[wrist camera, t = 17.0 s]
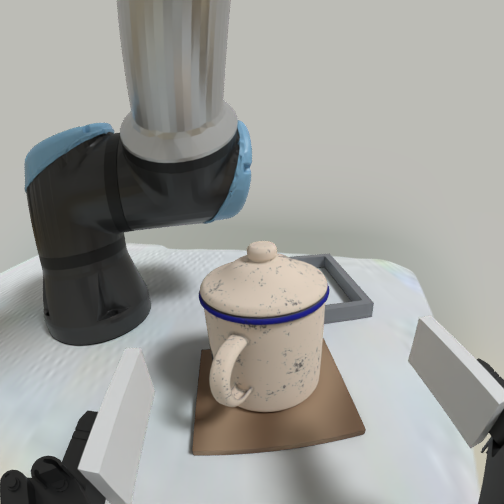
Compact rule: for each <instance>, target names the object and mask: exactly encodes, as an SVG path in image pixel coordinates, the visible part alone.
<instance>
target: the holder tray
mask: <svg viewBox="0 0 504 504" xmlns="http://www.w3.org/2000/svg"><path fill="white" fill-rule="evenodd" d="M289 258H291V259H295V260H300V261H303V262H306V263H308V264H311V265H313V266H314V267H316V268H318V267H325V268H326V269H327V270H328V271H329V273H330V274H331V275H332V276H333V278H334V279H335V280H336V282H337V283H338V284H339V285H340V287H341V288H342V289H343V291H344V292H345V293H346V295H347V296H348V297H349V298H350V300H351V301H352V302H345V303H337V304H329V305H325V313H324V324H325V323H333V322H340V321H347V320H353V319H360V318H366V317H372V311H373V304H374V303H373V302H372V301H371V299H370V298H369V297H368V296H367V295H366V294H365V293H364V291H363V290H362V289H361V288H360V287H359V286H358V285H357V284H356V282H355V281H354V280H353V279H352V278H351V277H350V276H349V275H348V274H347V272H346V271H345V270H344V269H343V268H342V267H341V266H340V265H339V264H338V263H337V262H336V260H335V259H334V258H333V257H332V256H331V255H330V254H320V255H308V256H295V257H289Z"/></svg>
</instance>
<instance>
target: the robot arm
mask: <svg viewBox="0 0 504 504" xmlns="http://www.w3.org/2000/svg"><path fill="white" fill-rule="evenodd" d="M117 7H118V8H117V9H118V19H119V30H120V39H121V47H122V54H123V62H124V69H125V76H126V82H127V89H128V95H129V101H130V106H131V112H130V113H129V114H128V115H127V116H126V117H125V119H124V120H123V123H122V125H121V128H120V133H115V134H114V130H113V129H112V127H111V125H110V124H108V123H94V124H89V125H86V126H83V127H76V128H72V129H69V130H67V131H64V132H61V133H58V134H56V135H53V136H51V137H49V138H47V139H45V140H43V141H42V142H40V143H38V144H37V145H35V146H34V147H33V148H32V149H31V150H30V152H29V153H28V154H27V156H26V159H25V192H26V193H27V200H28V206H29V212H30V217H31V223H32V227H33V232H34V237H35V241H36V246H37V250H38V254H39V258H40V262H41V266H42V270H43V302H44V317H45V321H46V323H47V326H48V329H49V331H50V333H51V335H52V336H53V337H54V338H55V339H57V340H58V341H61V342H63V343H67V344H74V345H86V344H94V343H99V342H104V341H107V340H110V339H113V338H116V337H118V336H120V335H123V334H125V333H126V332H128V331H130V330H132V329H133V328H135V327H136V326H137V325H139V324H140V323H141V322H142V321H143V320H144V319H145V318H146V317H147V315H148V314H149V312H150V309H151V301H150V297H149V292H148V288H147V286H146V284H145V282H144V280H143V279H142V277H141V275H140V273H139V272H138V270H137V268H136V266H135V264H134V263H133V261H132V259H131V257H130V255H129V253H128V251H127V248H126V243H125V237H124V232H129V231H135V230H143V229H152V228H161V227H169V226H179V225H188V224H199V223H205V224H207V223H211V222H213V221H214V220H221V219H227V218H231V217H233V216H235V215H236V214H238V213H239V212H240V210H241V209H242V207H243V206H244V204H245V201H246V198H247V195H248V192H249V187H250V181H251V171H250V165H251V163H252V148H251V140H250V136H249V132H248V129H247V127H246V126H245V124H244V123H243V122H241V121H239V120H237V115H236V113H235V111H234V109H233V108H232V107H231V106H230V105H229V104H228V103H227V102H225V101H224V100H223V92H224V77H225V61H226V49H227V34H228V24H229V12H230V0H117ZM408 362H409V363H410V364H411V366H412V367H413V368H414V370H415V371H416V372H417V374H418V375H419V376H420V378H421V379H422V380H423V382H424V383H425V384H426V386H427V387H428V388H429V390H430V391H431V393H432V394H433V395H434V397H435V398H436V399H437V401H438V402H439V404H440V405H441V406H442V408H443V409H444V411H445V412H446V413H447V415H448V416H449V418H450V419H451V421H452V422H453V424H454V425H455V426H456V428H457V429H458V431H459V432H460V434H461V435H462V437H463V438H464V440H465V441H466V443H467V444H468V446H469V447H470V448H472V447H474V446H475V445H477V444H479V443H481V442H482V441H483V440H484V438H485V437H486V436H487V434H488V433H490V435H491V438H490V439H489V441H488V442H487V443H486V445H485V446H484V447H483V448H482V451H481V453H483V452H484V451H485V449H486V448H487V447H488V450H487V452H486V453H487V460H486V466H485V473H484V478H483V484H482V489H481V494H480V498H479V502H478V504H504V380H503V379H502V378H501V377H499V375H498V374H497V373H496V372H494V369H493V368H492V367H490V365H489V364H487V363H486V362H484V361H482V360H481V359H477V360H476V359H475V358H474V357H473V356H472V355H471V354H470V353H469V352H468V351H467V350H466V349H465V348H464V347H463V346H462V345H461V344H460V343H459V342H458V341H457V340H456V339H455V338H454V337H453V336H452V335H451V334H450V333H449V332H448V331H447V330H446V329H445V328H444V327H443V326H442V325H441V324H440V323H439V322H438V321H436V320H435V319H434V318H433V317H432V316H431V315H429V316H424V317H420V318H419V320H418V325H417V329H416V333H415V337H414V341H413V345H412V348H411V352H410V355H409V359H408ZM154 395H155V389H154V386H153V383H152V381H151V378H150V375H149V372H148V369H147V366H146V362H145V359H144V356H143V353H142V350H141V348H125V350H124V352H123V355H122V357H121V359H120V361H119V364H118V366H117V368H116V371H115V373H114V375H113V378H112V380H111V382H110V385H109V387H108V390H107V392H106V394H105V397H104V399H103V402H102V404H101V407H100V409H99V412H94V411H87V412H86V413H85V414H84V415H83V416H82V417H81V418H80V419H79V421H78V424H77V426H76V428H75V431H74V433H73V436H72V439H71V441H70V443H69V446H68V448H67V451H66V453H65V456H64V458H63V461H62V462H61V461H60V460H59V459H57V458H56V457H53V456H44V457H41V458H39V459H38V460H36V461H35V463H34V464H33V466H32V469H31V475H32V478H27V477H26V476H25V475H24V474H23V473H21V472H19V471H18V470H10V471H7V472H6V473H4V474H3V476H2V478H1V480H0V500H1V504H105V500H106V499H107V500H108V501H109V502H110V503H111V504H132V499H133V493H134V488H135V482H136V477H137V472H138V467H139V462H140V457H141V452H142V447H143V443H144V438H145V433H146V429H147V425H148V420H149V416H150V412H151V407H152V403H153V399H154Z"/></svg>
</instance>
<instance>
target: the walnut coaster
mask: <svg viewBox="0 0 504 504" xmlns="http://www.w3.org/2000/svg"><path fill="white" fill-rule="evenodd" d="M212 362H213V361H212V355H211V349H208V350H202V351H201V360H200V370H199V379H198V390H197V400H196V412H195V423H194V436H193V449H192V451H193V454H194V455H231V454H247V453H259V452H269V451H278V450H286V449H293V448H300V447H306V446H312V445H317V444H323V443H328V442H333V441H337V440H342V439H346V438H351V437H355V436H359V435H363V434H364V433H365V430H366V429H365V427H364V424H363V422H362V420H361V418H360V416H359V413H358V411H357V409H356V407H355V405H354V402H353V400H352V398H351V396H350V394H349V392H348V389H347V387H346V385H345V383H344V381H343V379H342V376H341V374H340V372H339V370H338V368H337V366H336V364H335V362H334V359H333V357H332V355H331V353H330V351H329V349H328V347H327V345H326V343H325V340H324V338H323V342H322V354H321V365H320V375H319V381H318V384H317V386H316V388H315V390H314V391H313V392H312V394H311V395H310V396H309V397H308V398H307V399H305V400H304V401H303V402H301V403H299V404H298V405H296V406H293V407H291V408H288V409H285V410H281V411H275V412H257V411H251V410H247V409H244V408H241V407H238V406H236V407H229V406H225V405H222V404H220V403H219V402H217V401H216V399H215V398H214V397H213V395H212V392H211V388H210V381H209V377H210V369H211V365H212Z"/></svg>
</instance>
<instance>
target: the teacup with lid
mask: <svg viewBox="0 0 504 504" xmlns="http://www.w3.org/2000/svg"><path fill="white" fill-rule="evenodd" d="M328 295H329V286H328V283H327V280H326V278H325V276H324V275H323V273H322V272H321V271H320V270H319V269H317V268H316V267H314V266H313V265H311V264H308V263H306V262H303V261H300V260H295V259H291V258H289V257H287V256H285V255H282V254H278V253H277V247H276V245H275V244H274V243H272V242H269V241H257V242H254V243H251V244H250V245H249V246H248V248H247V255H245V256H243V257H240V258H238V259H237V260H235V261H234V262H231V263H228V264H225V265H222V266H220V267H218V268H216V269H214V270H213V271H211V272H210V273H209V274H208V275H207V276H206V277H205V278H204V280H203V282H202V284H201V286H200V291H199V300H200V303H201V305H202V306H203V307H204V311H205V318H206V324H207V331H208V337H209V343H210V349H211V355H212V361H213V362H212V365H211V369H210V377H209V381H210V388H211V392H212V395H213V397H214V398H215V399H216V401H217V402H219V403H220V404H222V405H225V406H229V407H236V406H238V407H241V408H244V409H247V410H251V411H257V412H275V411H281V410H285V409H288V408H291V407H293V406H296V405H298V404H299V403H301V402H303V401H304V400H305V399H307V398H308V397H309V396H310V395H311V394H312V392H313V391H314V390H315V388H316V386H317V384H318V381H319V375H320V365H321V354H322V342H323V328H324V313H325V302H326V300H327V298H328Z"/></svg>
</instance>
